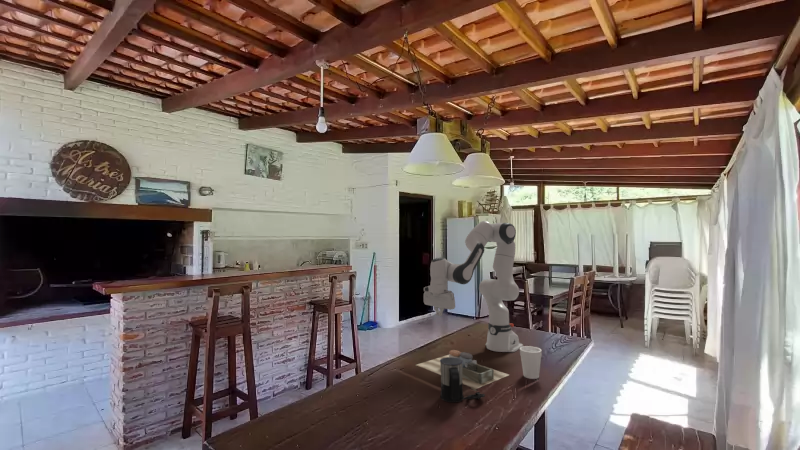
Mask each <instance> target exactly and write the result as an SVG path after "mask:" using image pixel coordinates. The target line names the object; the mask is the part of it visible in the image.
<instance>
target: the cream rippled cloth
mask: <svg viewBox="0 0 800 450" xmlns="http://www.w3.org/2000/svg"><path fill="white" fill-rule="evenodd" d="M446 357H449V354H447V355H444V356H443V355H442V356H440V357H437V358H434V359H431V360H430V359H429V360H426V361H424V362H421V363H418V364H416V367H417V366H418V367H420V368H422V369H424V370H427V371H429V372H432V373H435V374H438V375H439V376H441V362H440V360H441V359H442V358H446ZM476 365H477V372H474V371H472V370H469V369H466V368H463V367H462V385H465V386H467V387H470V388H469V389H470V391H471V390H472V391H474V392H479V390H478V389H480V388H481V387H484V386H487V385H489V384H492V383H494V382H497V381H499V380H501V379H503V378H506V377H509V376H510V374H508V373H505V372H503V371H501V370H496V369H493V368H492V367H488V366H485V365H481V364H478V363H476Z"/></svg>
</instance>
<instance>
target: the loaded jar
mask: <svg viewBox="0 0 800 450" xmlns="http://www.w3.org/2000/svg"><path fill="white" fill-rule="evenodd" d="M460 352H461V353H460V359H461V360H462V361H463V363H462V367H463V368H465V363H467V362H470V361H472V360H473V354H472V353H470V352H464V351H460Z"/></svg>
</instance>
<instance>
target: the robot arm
mask: <svg viewBox="0 0 800 450" xmlns="http://www.w3.org/2000/svg"><path fill="white" fill-rule="evenodd" d="M516 234H517V232H516V227H515V225H514V224H512V223H510V222H495V223H491V222H489V221H485V220H481V221H480V222H479V223H477V224H476V225H475V226H474V227H473V228H472V229H471V231H470V232H469V233H468V234H467V236H466V238H465V241H464V243H465V246H466V248H467V249H468V250H469V251H470V253H469V254H468V256H467V258H466V260H465V261H464V262H462V263H460V264H459V263H453V262H451V261H449V260H447V259H446V258H445V257H435V258H433V259H432V260H431V263H430V267H429V270H430V273H429V275H430V282H429V283H430V285H428V286H425V287H423V292H424V293H423V303H424V305H426V306H431V307H433V308H434V311H435V314H436V315H435V316H439V317H443V312H444V310H455V308H456V300H455V294H454V292H453V291H452V290H448V282H452V283H457V284H460V285H467V284H469V282H470V281H471V280H472V278H473V275H474V272H475V270H476V268H477V266H478V264H479V262H480V261H481V259H482V257H483V255H484V253H485V247H486V246H487V243H496V249H495V254H494V259H493V262H492V263H493V265H492V269H493V270H494V272H495V273H496V276H497V279H496V278H495V279H494V278H493V279H492V278H488V279H487V278H486V279H483V280H481V281H480V283H479V285H478V286H479V287H478V290H479V293H480V294H481V295H482V296H483V298H484V300H485V303H486V305H487V309H488V327H487V328H488V330H487V334H486V335H487V336H486V337H487V338H486V343H485V346H486V349H487V350H490V351H493V352H497V353H498V352H499V353H501V352H502V353H515V352H516V351H518V350H520V347H524V344H523V343H521V342H520V340H519V336H518V334H516V332H514V331H513V330H512V328H514V325H515V324H514V323H510V312H509V309H508V307H507V306H505V304H504V302H503V301H507V302H508V301H515V300H517V299H518V297H519V294H520V288H519V286H518V285H517V283H516V282H515V279H514V276H513V275H514V273H513V270H514V269H513V268H514V262H515V256H516V242H515V239H516Z"/></svg>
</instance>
